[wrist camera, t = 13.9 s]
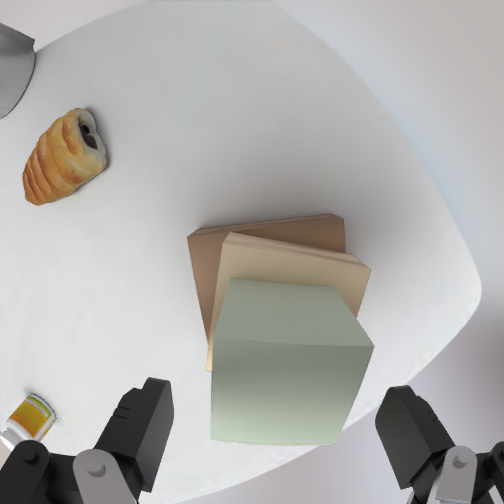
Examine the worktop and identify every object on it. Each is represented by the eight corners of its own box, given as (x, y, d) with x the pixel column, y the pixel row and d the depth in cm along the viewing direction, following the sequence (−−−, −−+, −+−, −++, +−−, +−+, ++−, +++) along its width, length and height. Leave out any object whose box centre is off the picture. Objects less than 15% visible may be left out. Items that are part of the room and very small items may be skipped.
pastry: (47, 222, 21) (20, 228, 17) (26, 163, 20) (0, 163, 16) (117, 165, 20) (92, 162, 16) (91, 102, 18) (67, 92, 15)
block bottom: (198, 228, 21) (187, 237, 18) (330, 213, 21) (343, 218, 17) (219, 344, 23) (213, 367, 20) (334, 331, 23) (345, 352, 19)
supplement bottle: (24, 388, 26) (-10, 425, 17) (49, 400, 26) (15, 443, 17) (36, 413, 27) (7, 450, 18) (61, 425, 27) (32, 467, 18)
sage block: (230, 278, 15) (213, 336, 9) (334, 287, 15) (374, 345, 9) (224, 364, 16) (210, 439, 10) (315, 370, 16) (335, 443, 10)
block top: (229, 232, 18) (223, 243, 14) (351, 254, 18) (370, 269, 14) (213, 341, 19) (205, 370, 16) (320, 357, 20) (330, 386, 16)
